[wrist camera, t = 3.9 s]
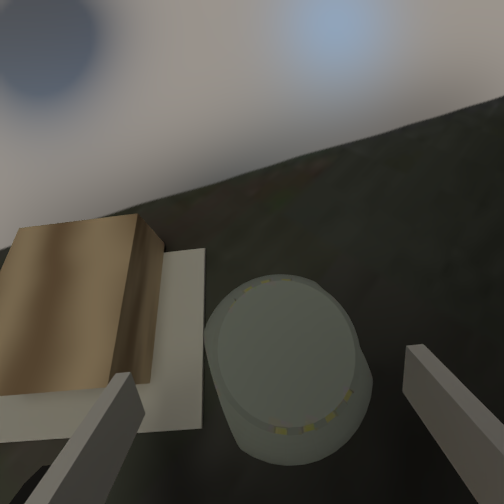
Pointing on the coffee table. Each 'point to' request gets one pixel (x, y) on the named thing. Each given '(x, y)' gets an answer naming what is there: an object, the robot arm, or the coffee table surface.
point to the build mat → (162, 373)
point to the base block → (79, 305)
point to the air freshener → (287, 369)
